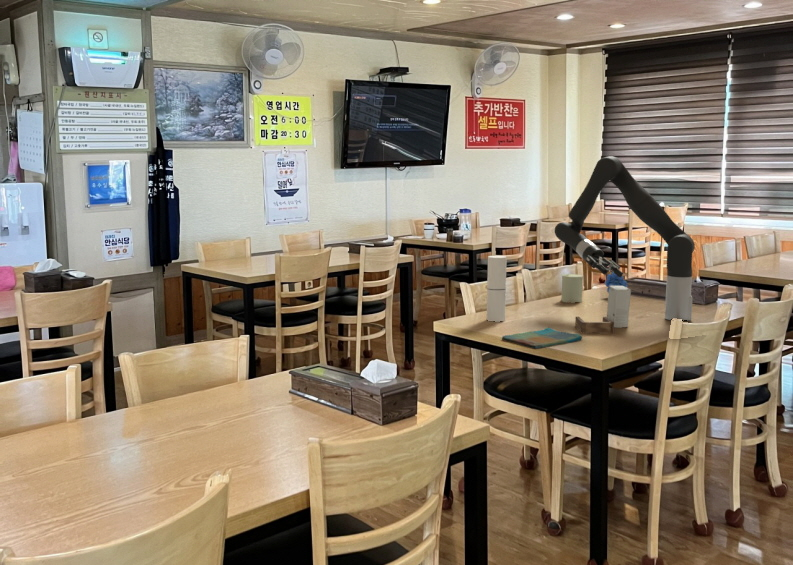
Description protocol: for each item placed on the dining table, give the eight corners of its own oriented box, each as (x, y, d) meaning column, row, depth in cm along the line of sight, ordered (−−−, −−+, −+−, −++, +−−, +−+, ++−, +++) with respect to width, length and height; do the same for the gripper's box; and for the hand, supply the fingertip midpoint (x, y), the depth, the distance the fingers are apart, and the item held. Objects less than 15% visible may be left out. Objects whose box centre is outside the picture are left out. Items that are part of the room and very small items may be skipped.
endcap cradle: (605, 327, 298) (606, 316, 297) (613, 333, 287) (614, 322, 286) (575, 327, 298) (575, 316, 297) (581, 333, 287) (582, 322, 286)
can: (557, 299, 356) (558, 273, 354) (575, 298, 359) (576, 272, 357) (567, 303, 348) (568, 276, 346) (586, 302, 350) (587, 275, 348)
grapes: (599, 297, 362) (600, 271, 360) (607, 296, 367) (608, 270, 365) (621, 301, 354) (623, 274, 352) (629, 299, 358) (631, 273, 356)
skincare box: (605, 323, 305) (607, 285, 302) (621, 323, 305) (622, 285, 303) (613, 328, 296) (615, 288, 294) (629, 327, 297) (631, 288, 295)
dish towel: (583, 341, 276) (584, 334, 276) (536, 351, 263) (536, 343, 262) (547, 333, 290) (547, 326, 290) (500, 341, 276) (500, 334, 276)
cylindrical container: (490, 322, 306) (492, 258, 302) (483, 319, 312) (485, 255, 309) (507, 321, 307) (509, 257, 304) (500, 318, 314) (502, 255, 310)
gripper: (581, 241, 315) (606, 263, 303) (606, 246, 323) (631, 268, 311) (572, 257, 318) (596, 280, 306) (597, 262, 326) (621, 284, 314)
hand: (614, 274), depth 309 cm, fingers open, 8 cm apart
